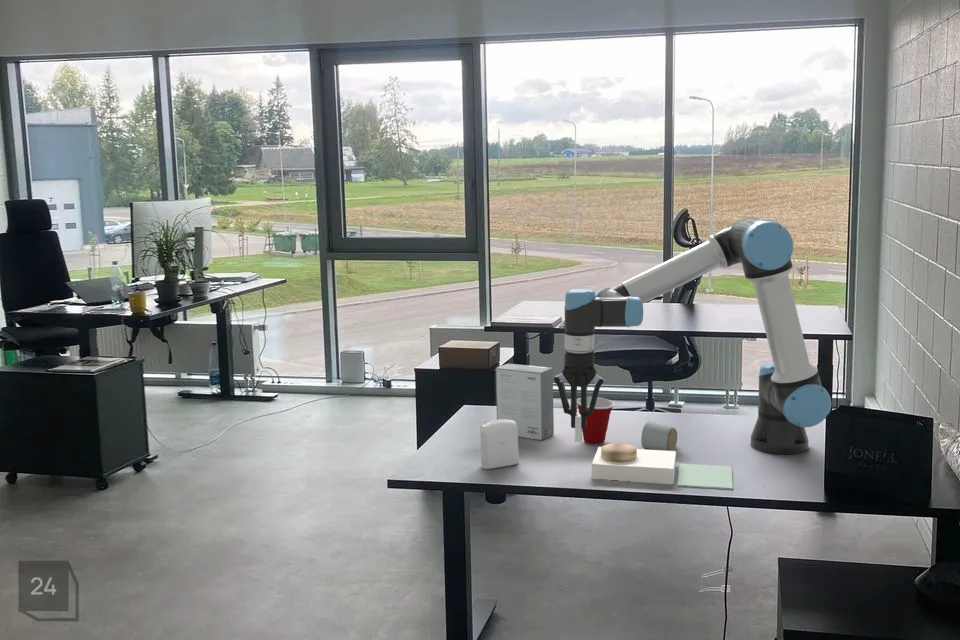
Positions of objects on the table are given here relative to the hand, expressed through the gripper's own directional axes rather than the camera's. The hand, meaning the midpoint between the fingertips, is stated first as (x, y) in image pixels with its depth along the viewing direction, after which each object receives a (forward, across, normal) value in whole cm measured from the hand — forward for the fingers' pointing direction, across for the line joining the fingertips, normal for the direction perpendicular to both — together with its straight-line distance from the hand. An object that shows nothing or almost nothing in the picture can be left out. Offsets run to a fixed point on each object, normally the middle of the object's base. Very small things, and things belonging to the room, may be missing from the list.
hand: (578, 440), depth 235 cm
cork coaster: (+4, +10, 0) cm, 11 cm away
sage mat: (+7, +32, 0) cm, 33 cm away
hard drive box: (+8, -20, +28) cm, 35 cm away
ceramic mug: (+8, +20, +21) cm, 30 cm away
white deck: (+8, +14, 0) cm, 16 cm away
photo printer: (+8, -21, -1) cm, 22 cm away
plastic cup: (+8, +1, +24) cm, 25 cm away
